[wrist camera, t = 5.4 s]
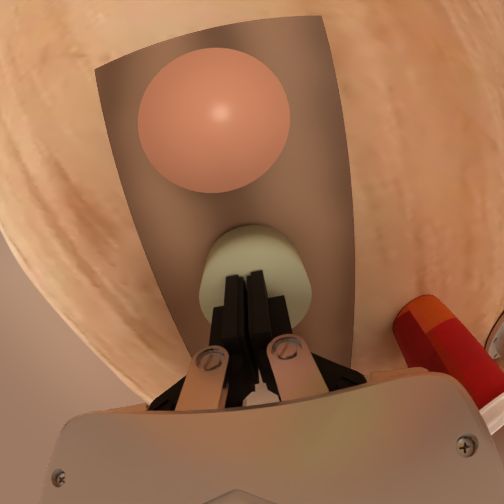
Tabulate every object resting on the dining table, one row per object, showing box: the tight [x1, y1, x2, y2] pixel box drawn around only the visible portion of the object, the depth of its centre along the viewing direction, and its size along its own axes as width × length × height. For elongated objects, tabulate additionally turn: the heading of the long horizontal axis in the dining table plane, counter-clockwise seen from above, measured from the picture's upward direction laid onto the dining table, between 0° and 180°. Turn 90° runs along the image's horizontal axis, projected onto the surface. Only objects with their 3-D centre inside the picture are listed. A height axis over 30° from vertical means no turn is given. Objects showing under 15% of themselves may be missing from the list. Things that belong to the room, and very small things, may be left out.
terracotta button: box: [138, 48, 290, 193], centre depth 10 cm, size 5×5×3 cm
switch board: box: [94, 16, 355, 368], centre depth 17 cm, size 12×26×3 cm, turn 11°
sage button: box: [199, 225, 312, 329], centre depth 14 cm, size 5×5×3 cm
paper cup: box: [393, 295, 504, 435], centre depth 16 cm, size 8×8×14 cm
